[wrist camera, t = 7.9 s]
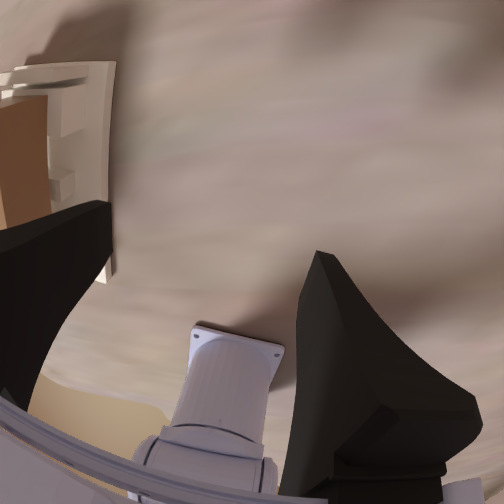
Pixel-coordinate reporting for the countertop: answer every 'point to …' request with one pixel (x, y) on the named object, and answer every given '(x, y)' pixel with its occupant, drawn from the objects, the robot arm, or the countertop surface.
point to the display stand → (73, 128)
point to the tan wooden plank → (23, 160)
